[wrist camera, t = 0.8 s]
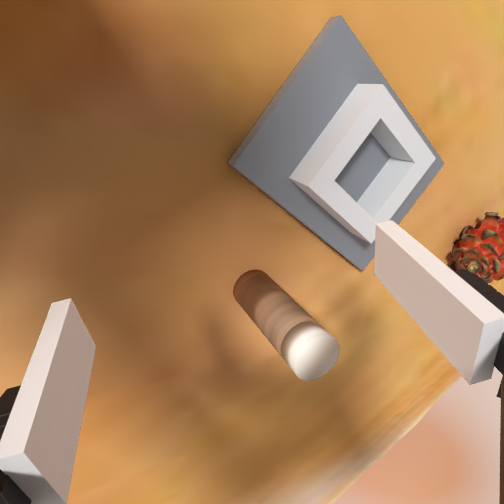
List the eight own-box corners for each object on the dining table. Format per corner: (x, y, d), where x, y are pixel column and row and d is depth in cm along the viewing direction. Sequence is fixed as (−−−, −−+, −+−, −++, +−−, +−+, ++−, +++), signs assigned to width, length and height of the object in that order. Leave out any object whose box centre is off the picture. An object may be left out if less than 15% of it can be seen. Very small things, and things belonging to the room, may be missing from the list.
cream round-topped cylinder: (225, 295, 42) (284, 372, 31) (249, 263, 41) (317, 328, 31) (253, 311, 44) (317, 386, 33) (276, 280, 44) (348, 346, 33)
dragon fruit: (421, 263, 56) (468, 206, 59) (465, 303, 56) (510, 244, 58) (459, 254, 48) (511, 188, 50) (510, 301, 48) (561, 232, 50)
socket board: (227, 162, 36) (249, 174, 32) (330, 17, 35) (367, 9, 31) (354, 266, 48) (382, 283, 44) (434, 161, 47) (470, 169, 43)
